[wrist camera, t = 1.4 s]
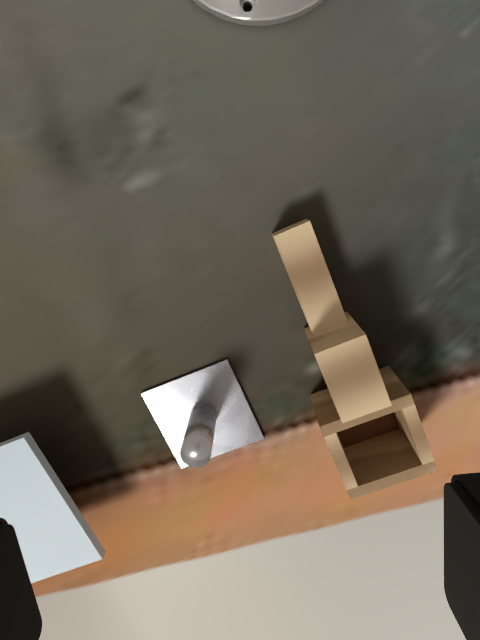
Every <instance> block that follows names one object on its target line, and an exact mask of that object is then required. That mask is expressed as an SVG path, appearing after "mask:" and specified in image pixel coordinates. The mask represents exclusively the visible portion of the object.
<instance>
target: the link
mask: <svg viewBox="0 0 480 640" xmlns="http://www.w3.org/2000/svg"><path fill="white" fill-rule="evenodd" d="M272 235H273V238H274V240H275V243H276V245H277V248H278V250H279V253H280V255H281V258H282V260H283V263H284V265H285V268H286V270H287V273H288V275H289V278H290V280H291V283H292V285H293V288H294V290H295V293H296V295H297V298H298V300H299V303H300V305H301V308H302V310H303V312H304V315H305V317H306V320H307V322H308V325H309V327H306V328H304V330H305V333H306V335H307V338H308V340H309V343H310V345H311V348H312V350H313V353H314V355H315V357H316V360H317V362H318V365H319V367H320V370H321V372H322V375H323V377H324V380H325V382H326V385H327V387H328V388H327V389H324V390H321V391H319V392H316V393H313V394H311V395H310V396H311V399H312V403H313V406H314V409H315V413H316V416H317V419H318V422H319V426H320V428H321V431H322V433H323V436H324V438H325V440H326V443H327V445H328V447H329V450H330V452H331V454H332V457H333V459H334V461H335V464H336V466H337V469H338V471H339V473H340V476H341V478H342V480H343V483H344V485H345V487H346V490H347V492H348V494H349V497H350V499H354V498H357V497H360V496H363V495H366V494H369V493H372V492H375V491H378V490H381V489H384V488H387V487H390V486H393V485H396V484H399V483H402V482H405V481H408V480H411V479H414V478H417V477H420V476H423V475H426V474H429V473H432V472H435V471H438V470H437V467H436V464H435V461H434V458H433V455H432V452H431V450H430V447H429V444H428V441H427V438H426V435H425V432H424V429H423V427H422V424H421V421H420V418H419V415H418V412H417V409H416V407H415V404H414V401H413V398H412V395H411V393H410V392H409V391H408V389H407V388H406V387H405V386H404V385H403V383H402V382H401V381H400V380H399V378H398V377H397V376H396V375H395V373H394V372H393V371H392V370H391V368H390V367H389V366H386V367H383V368H381V369H378V366H377V363H376V361H375V358H374V355H373V352H372V350H371V347H370V344H369V341H368V339H367V336H366V334H365V333H364V331H363V330H362V329H361V328H360V327H359V325H358V324H357V323H356V322H355V321H354V319H353V318H352V317H351V316H350V315H349V313H348V312H344V310H343V308H342V305H341V302H340V300H339V297H338V294H337V292H336V289H335V286H334V284H333V281H332V278H331V276H330V273H329V270H328V268H327V265H326V262H325V260H324V257H323V254H322V252H321V249H320V246H319V244H318V241H317V238H316V235H315V233H314V230H313V227H312V225H311V222H310V221H309V220H307V219H304V220H302V221H300V222H297V223H295V224H293V225H290V226H288V227H286V228H283V229H281V230H279V231H276V232H274V233H272ZM390 413H394V416H395V419H396V421H397V424H398V427H399V428H398V429H396V430H393V431H390V432H387V433H384V434H381V435H378V436H376V437H373V438H370V439H367V440H364V441H361V442H358V443H356V444H353V445H350V446H347V447H343V445H342V442H341V440H340V438H339V435H338V433H337V432H340V431H342V430H345V429H348V428H351V427H354V426H356V425H359V424H362V423H365V422H368V421H370V420H373V419H376V418H379V417H382V416H384V415H387V414H390Z"/></svg>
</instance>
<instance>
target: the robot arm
mask: <svg viewBox="0 0 480 640" xmlns="http://www.w3.org/2000/svg"><path fill="white" fill-rule="evenodd" d="M192 1H194V2H195V3H196V4H197V5H198V6H200V7H201V8H202V9H204V10H206V11H207V12H209V13H211V14H213V15H215V16H217V17H218V18H220V19H223V20H226V21H230V22H233V23H236V24H240V25H250V26H267V25H274V24H281V23H284V22H287V21H290V20H292V19H295V18H298V17H300V16H303V15H304V14H306V13H307V12H309V11H311V10H312V9H314V8H315V7H317V6H319V5H320V4H322V3H323V2H324V1H325V0H192ZM245 5H250V6H251V7H252V10H251V11H250V12H245V11H244V10H243V8H244V6H245ZM444 588H445V594H446V597H447V601H448V603H449V606H450V608H451V610H452V612H453V614H454V616H455V618H456V620H457V622H458V624H459V626H460V628H461V630H462V632H463V634H464V636H465V638H466V639H467V640H480V473H469V474H459V475H454V476H453V477H452V479H451V483H446V484H445V485H444ZM41 629H42V619H41V615H40V612H39V609H38V605H37V602H36V598H35V595H34V592H33V588H32V585H31V582H30V579H29V575H28V572H27V569H26V565H25V562H24V559H23V555H22V552H21V549H20V546H19V542H18V539H17V536H16V532H15V529H14V527H13V526H12V525H11V524H8V523H7V521H6V520H5V519H4V518H0V640H39V637H40V634H41Z"/></svg>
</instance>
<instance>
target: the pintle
mask: <svg viewBox="0 0 480 640" xmlns="http://www.w3.org/2000/svg"><path fill="white" fill-rule="evenodd" d="M141 395H142V397H143V399H144V401H145V402H146V404H147V406H148V408H149V410H150V412H151V413H152V415H153V417H154V419H155V421H156V423H157V425H158V426H159V428H160V430H161V432H162V434H163V436H164V437H165V439H166V441H167V443H168V445H169V447H170V448H171V450H172V452H173V454H174V456H175V458H176V460H177V461H178V463H179V465H180V467H181V469H182V468H185V467H187V466H190V467H196V468H197V467H202V466H204V465H206V464H207V463H208V462H209V461H210V458H212V457H215V456H218V455H220V454H223V453H226V452H229V451H231V450H234V449H237V448H240V447H242V446H245V445H248V444H251V443H253V442H256V441H259V440H262V439H264V436H263V434H262V432H261V430H260V427H259V425H258V423H257V421H256V419H255V417H254V415H253V412H252V410H251V408H250V406H249V404H248V402H247V400H246V397H245V395H244V393H243V391H242V389H241V387H240V385H239V383H238V380H237V378H236V376H235V374H234V372H233V370H232V368H231V365H230V363H229V361H228V359H225V360H223V361H220V362H218V363H215V364H213V365H210V366H207V367H205V368H202V369H200V370H197V371H195V372H192V373H190V374H187V375H185V376H182V377H180V378H177V379H175V380H172V381H169V382H167V383H164V384H162V385H159V386H157V387H154V388H152V389H149V390H147V391H144V392H142V393H141Z"/></svg>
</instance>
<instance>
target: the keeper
mask: <svg viewBox="0 0 480 640" xmlns="http://www.w3.org/2000/svg"><path fill="white" fill-rule="evenodd" d="M0 518H4V519H5V520H6V521H7V523H8V524H11V525H12V526H13V527H14V529H15V532H16V536H17V539H18V542H19V546H20V549H21V552H22V555H23V559H24V562H25V565H26V569H27V572H28V575H29V579H30V582H31V583H34V582H37V581H39V580H42V579H45V578H48V577H51V576H54V575H57V574H60V573H63V572H66V571H69V570H72V569H75V568H78V567H80V566H83V565H86V564H89V563H92V562H95V561H98V560H101V559H103V556H104V554H105V550H104V548H103V547H102V545H101V544H100V542H99V540H98V539H97V537H96V536H95V534H94V533H93V531H92V530H91V528H90V526H89V525H88V523H87V522H86V520H85V519H84V517H83V516H82V514H81V512H80V511H79V509H78V508H77V506H76V505H75V503H74V501H73V500H72V498H71V497H70V495H69V494H68V492H67V491H66V489H65V487H64V486H63V484H62V483H61V481H60V480H59V478H58V477H57V475H56V473H55V472H54V470H53V469H52V467H51V466H50V464H49V462H48V461H47V459H46V458H45V456H44V455H43V453H42V452H41V450H40V448H39V447H38V445H37V444H36V442H35V441H34V439H33V437H32V436H31V434H30V433H29V432H27V433H25V434H22V435H19V436H17V437H14V438H12V439H9V440H7V441H4V442H2V443H0Z"/></svg>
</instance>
